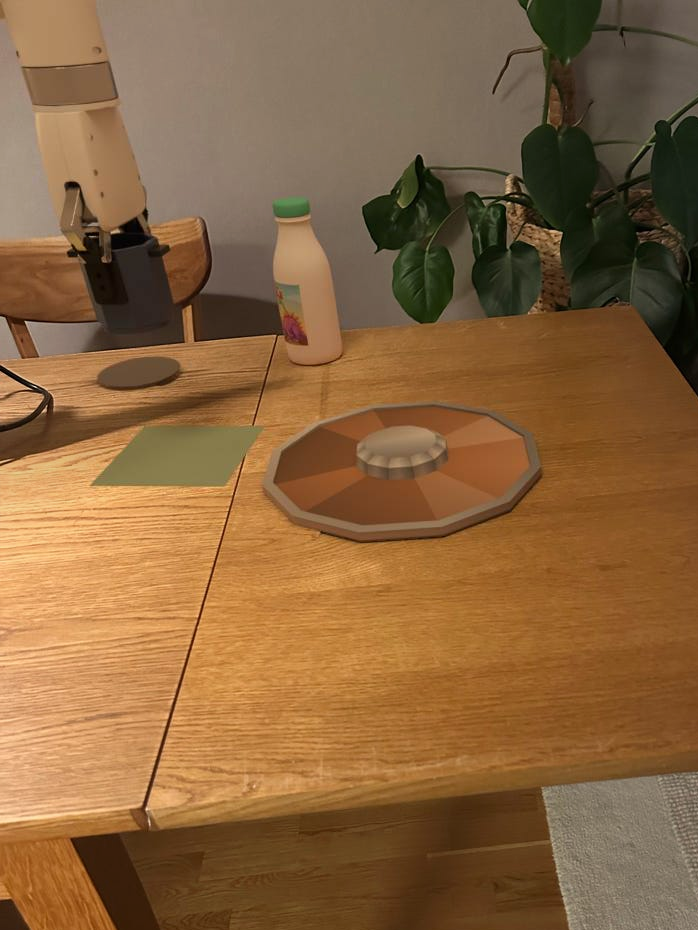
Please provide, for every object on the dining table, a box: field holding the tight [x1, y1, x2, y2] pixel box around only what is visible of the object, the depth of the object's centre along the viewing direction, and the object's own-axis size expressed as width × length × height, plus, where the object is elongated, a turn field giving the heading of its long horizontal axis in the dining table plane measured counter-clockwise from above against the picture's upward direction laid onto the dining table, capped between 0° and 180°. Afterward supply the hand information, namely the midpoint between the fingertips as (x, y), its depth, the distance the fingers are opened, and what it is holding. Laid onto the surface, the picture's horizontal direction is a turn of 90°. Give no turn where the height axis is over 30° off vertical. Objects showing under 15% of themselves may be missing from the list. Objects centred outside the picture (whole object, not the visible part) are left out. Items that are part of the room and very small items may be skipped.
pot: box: [66, 231, 177, 335], centre depth 86 cm, size 10×7×8 cm
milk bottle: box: [272, 196, 343, 366], centre depth 112 cm, size 8×8×20 cm
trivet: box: [96, 356, 182, 392], centre depth 115 cm, size 11×11×1 cm
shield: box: [261, 400, 542, 543], centre depth 89 cm, size 30×3×30 cm
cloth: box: [89, 425, 265, 488], centre depth 95 cm, size 15×15×1 cm
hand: (129, 290), depth 87 cm, fingers closed on pot, 7 cm apart
